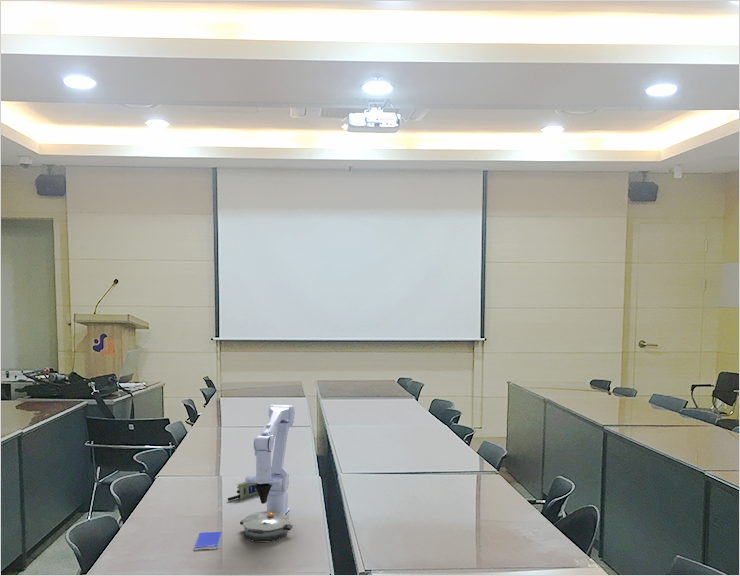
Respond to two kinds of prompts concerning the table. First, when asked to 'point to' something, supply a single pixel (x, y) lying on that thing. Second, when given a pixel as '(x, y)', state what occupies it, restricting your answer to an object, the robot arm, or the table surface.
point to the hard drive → (208, 540)
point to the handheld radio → (245, 490)
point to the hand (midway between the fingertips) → (263, 502)
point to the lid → (265, 521)
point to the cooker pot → (267, 534)
